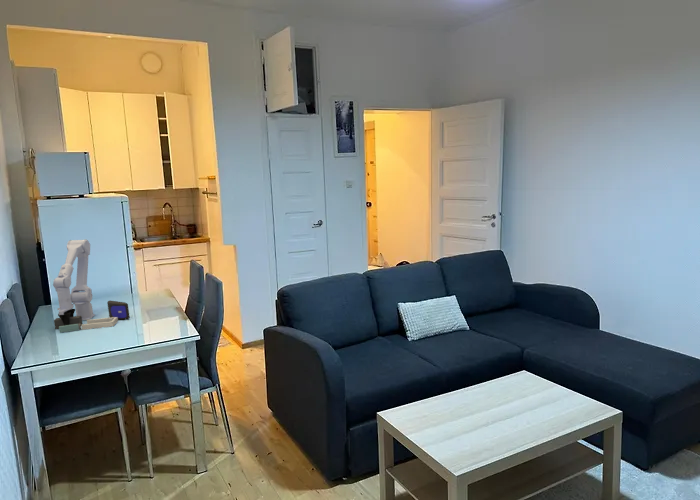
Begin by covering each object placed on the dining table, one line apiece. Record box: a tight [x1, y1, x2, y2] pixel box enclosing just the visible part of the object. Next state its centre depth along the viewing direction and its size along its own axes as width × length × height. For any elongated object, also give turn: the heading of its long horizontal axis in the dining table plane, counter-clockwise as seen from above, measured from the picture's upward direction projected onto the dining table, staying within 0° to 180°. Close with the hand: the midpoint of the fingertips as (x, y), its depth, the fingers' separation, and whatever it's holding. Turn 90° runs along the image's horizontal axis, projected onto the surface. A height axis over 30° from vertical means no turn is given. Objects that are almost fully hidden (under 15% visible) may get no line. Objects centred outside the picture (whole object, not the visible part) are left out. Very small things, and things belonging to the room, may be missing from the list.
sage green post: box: [58, 323, 82, 334], centre depth 246 cm, size 10×1×3 cm, turn 111°
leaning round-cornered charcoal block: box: [107, 300, 131, 321], centre depth 264 cm, size 16×5×9 cm, turn 60°
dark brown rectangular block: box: [53, 315, 83, 330], centre depth 253 cm, size 4×12×5 cm, turn 101°
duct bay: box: [81, 317, 119, 331], centre depth 253 cm, size 9×15×2 cm, turn 101°
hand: (68, 324), depth 254 cm, fingers closed on dark brown rectangular block, 4 cm apart
